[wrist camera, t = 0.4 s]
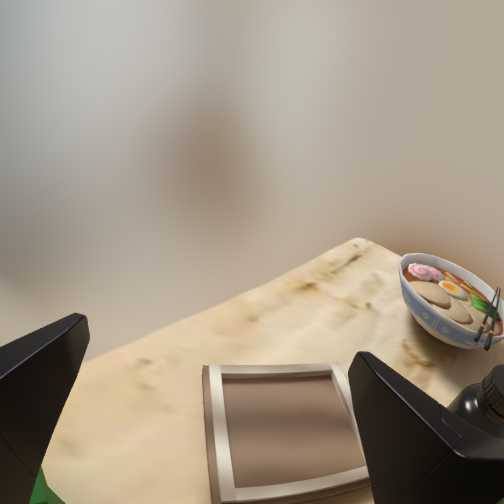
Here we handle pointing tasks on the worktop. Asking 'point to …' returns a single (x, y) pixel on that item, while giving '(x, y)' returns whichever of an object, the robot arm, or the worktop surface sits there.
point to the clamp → (43, 492)
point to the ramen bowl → (451, 302)
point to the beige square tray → (280, 433)
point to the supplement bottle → (483, 403)
